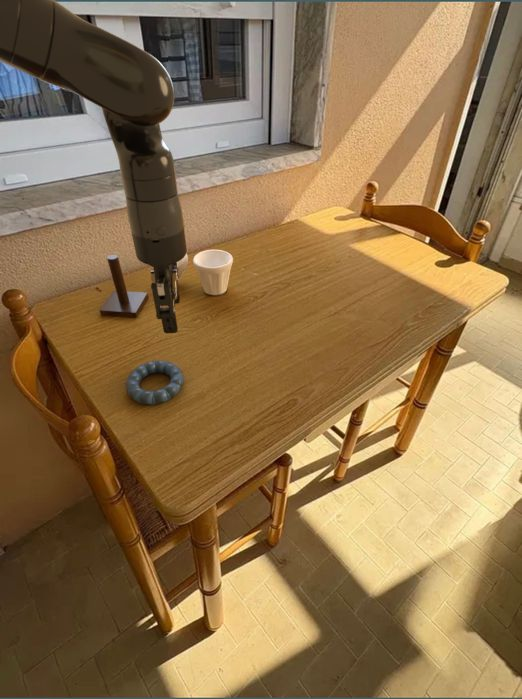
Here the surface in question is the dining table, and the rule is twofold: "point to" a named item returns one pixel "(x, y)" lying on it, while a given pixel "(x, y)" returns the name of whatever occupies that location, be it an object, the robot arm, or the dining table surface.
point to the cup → (213, 270)
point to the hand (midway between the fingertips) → (172, 316)
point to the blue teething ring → (158, 395)
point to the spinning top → (182, 265)
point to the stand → (122, 295)
